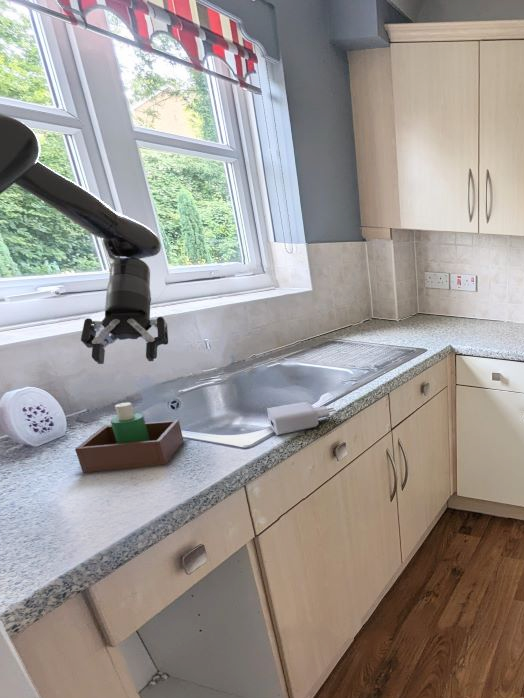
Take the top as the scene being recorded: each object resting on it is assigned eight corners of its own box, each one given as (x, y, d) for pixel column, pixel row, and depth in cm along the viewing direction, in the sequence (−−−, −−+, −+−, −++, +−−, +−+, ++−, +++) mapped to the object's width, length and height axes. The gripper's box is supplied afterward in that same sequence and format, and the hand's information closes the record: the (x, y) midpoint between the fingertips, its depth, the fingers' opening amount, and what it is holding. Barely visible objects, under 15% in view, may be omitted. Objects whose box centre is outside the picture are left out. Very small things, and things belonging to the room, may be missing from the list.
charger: (341, 423, 118) (277, 436, 109) (330, 412, 125) (269, 424, 116) (339, 406, 117) (274, 418, 107) (328, 396, 123) (266, 406, 114)
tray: (82, 472, 90) (74, 449, 88) (110, 447, 100) (103, 425, 98) (165, 464, 94) (159, 441, 93) (183, 441, 105) (178, 420, 103)
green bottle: (115, 459, 94) (101, 410, 90) (127, 448, 98) (113, 401, 95) (146, 456, 96) (133, 407, 92) (156, 445, 100) (143, 399, 96)
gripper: (79, 289, 97) (72, 354, 91) (161, 288, 103) (159, 349, 97) (96, 310, 103) (90, 372, 97) (172, 308, 109) (171, 367, 103)
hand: (125, 360), depth 97 cm, fingers open, 8 cm apart
